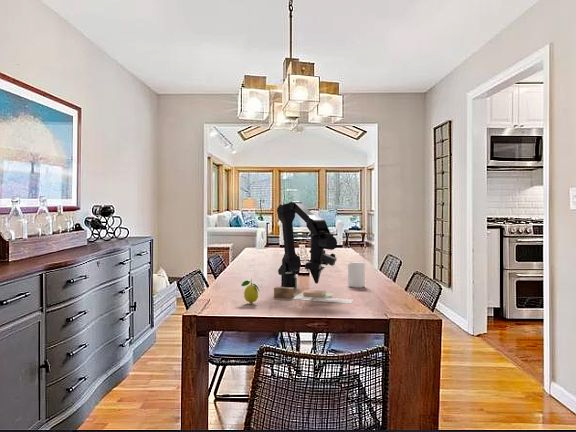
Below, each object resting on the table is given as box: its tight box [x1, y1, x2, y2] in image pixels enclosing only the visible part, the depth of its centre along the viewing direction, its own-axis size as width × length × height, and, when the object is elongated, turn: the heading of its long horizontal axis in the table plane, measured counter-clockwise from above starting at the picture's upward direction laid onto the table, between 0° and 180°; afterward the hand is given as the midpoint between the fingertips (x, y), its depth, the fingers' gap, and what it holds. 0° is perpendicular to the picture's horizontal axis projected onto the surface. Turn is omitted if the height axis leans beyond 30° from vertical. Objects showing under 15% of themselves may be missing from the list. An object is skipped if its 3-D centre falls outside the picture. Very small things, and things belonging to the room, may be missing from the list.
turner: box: [273, 286, 315, 302], centre depth 217 cm, size 16×7×4 cm, turn 73°
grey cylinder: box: [347, 260, 366, 289], centre depth 250 cm, size 8×8×12 cm
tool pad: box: [311, 297, 355, 304], centre depth 213 cm, size 16×8×1 cm, turn 73°
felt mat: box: [296, 290, 335, 298], centre depth 225 cm, size 14×12×1 cm
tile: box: [302, 288, 327, 298], centre depth 224 cm, size 8×2×8 cm
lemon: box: [241, 278, 261, 305], centre depth 206 cm, size 7×6×10 cm
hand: (316, 283), depth 227 cm, fingers closed
